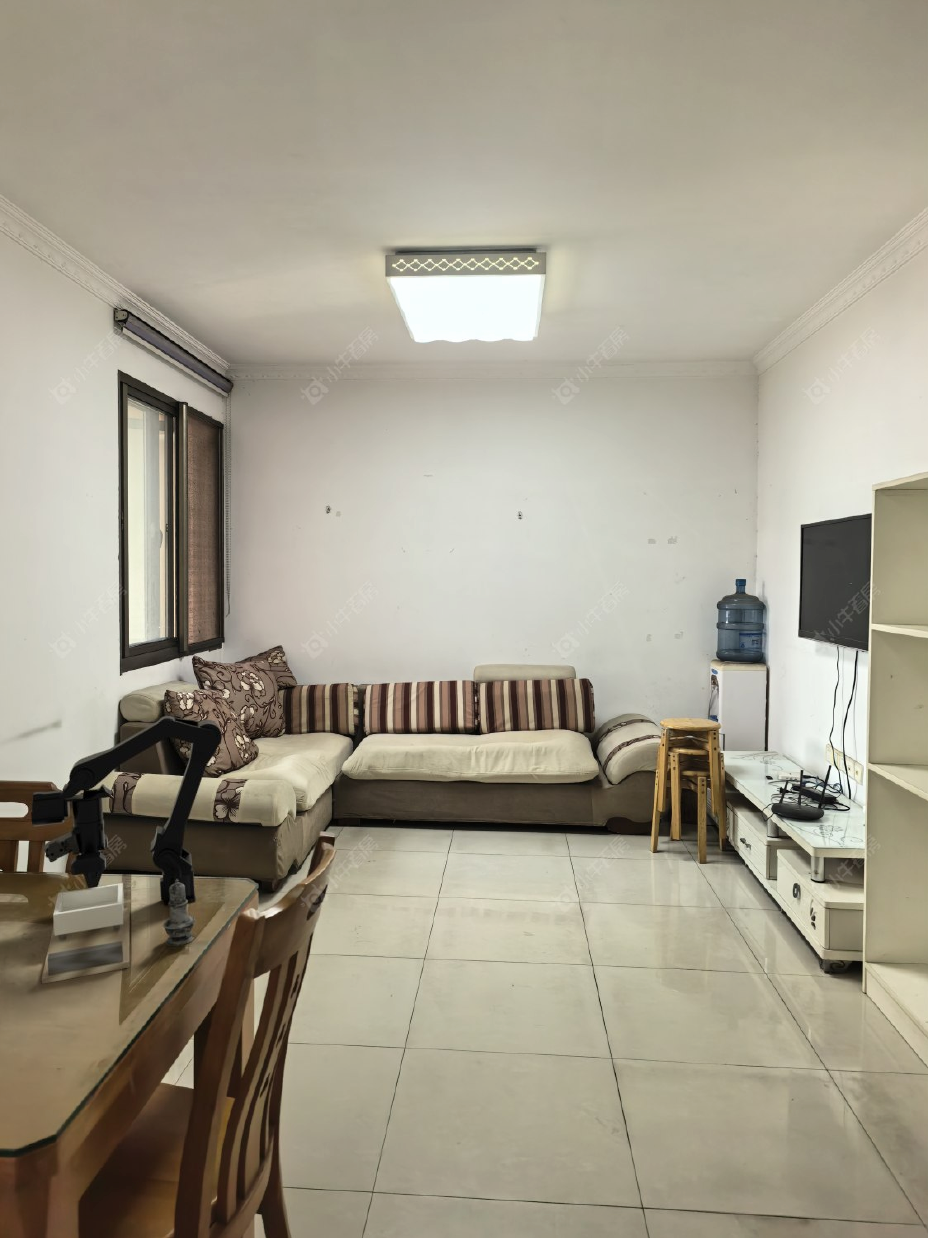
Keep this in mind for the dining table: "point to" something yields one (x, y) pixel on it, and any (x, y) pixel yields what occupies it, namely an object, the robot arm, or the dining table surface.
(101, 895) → the white tray
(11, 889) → the dining table surface
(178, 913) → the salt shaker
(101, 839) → the robot arm
